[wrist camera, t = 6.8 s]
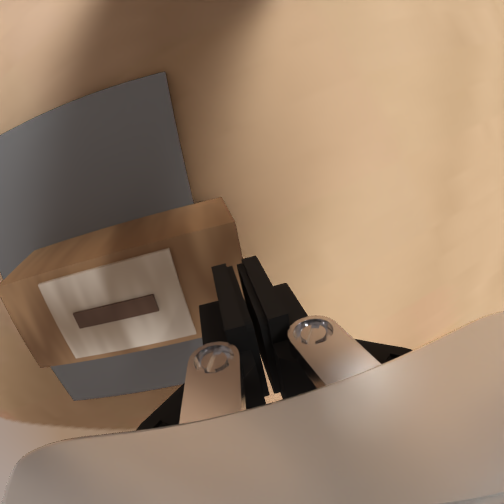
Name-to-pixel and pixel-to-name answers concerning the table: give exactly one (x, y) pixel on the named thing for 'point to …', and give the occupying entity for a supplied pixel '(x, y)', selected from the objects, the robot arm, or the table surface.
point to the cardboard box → (122, 285)
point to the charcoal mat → (96, 203)
